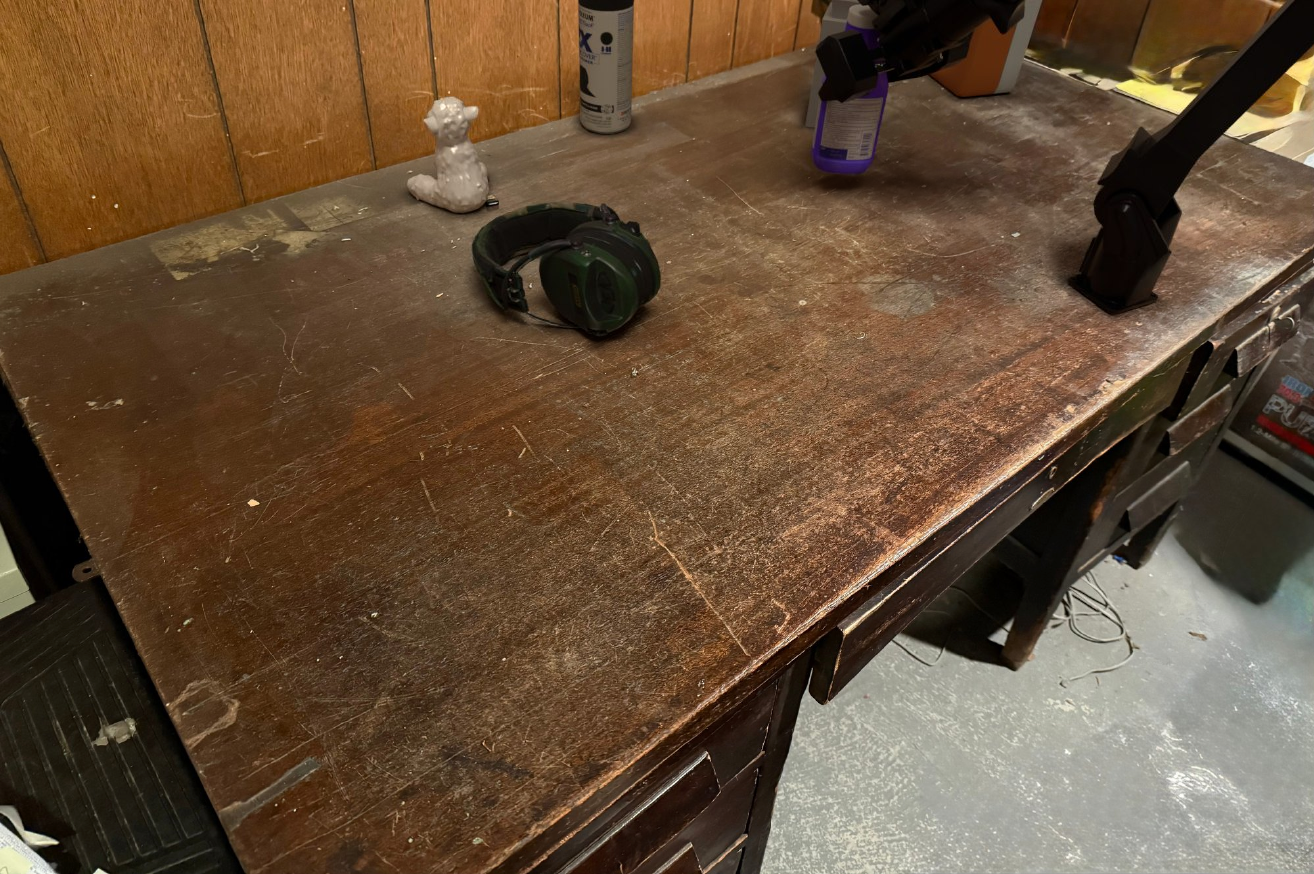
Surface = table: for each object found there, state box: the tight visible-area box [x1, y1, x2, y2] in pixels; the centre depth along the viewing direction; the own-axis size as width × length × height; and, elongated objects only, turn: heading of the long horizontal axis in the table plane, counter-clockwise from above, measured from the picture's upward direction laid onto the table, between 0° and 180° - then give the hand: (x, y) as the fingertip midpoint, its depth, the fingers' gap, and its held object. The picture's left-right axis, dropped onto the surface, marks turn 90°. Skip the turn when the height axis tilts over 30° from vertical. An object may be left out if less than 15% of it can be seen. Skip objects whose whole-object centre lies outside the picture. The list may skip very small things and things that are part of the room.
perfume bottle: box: [804, 0, 860, 129], centre depth 113 cm, size 7×7×18 cm
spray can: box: [577, 0, 635, 135], centre depth 109 cm, size 7×7×20 cm
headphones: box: [471, 201, 662, 337], centre depth 85 cm, size 13×13×20 cm
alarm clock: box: [929, 0, 1043, 98], centre depth 125 cm, size 18×9×21 cm, turn 17°
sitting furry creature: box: [406, 96, 490, 214], centre depth 96 cm, size 10×9×12 cm
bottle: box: [810, 4, 890, 175], centre depth 98 cm, size 7×6×17 cm
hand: (844, 89), depth 99 cm, fingers closed on bottle, 7 cm apart
